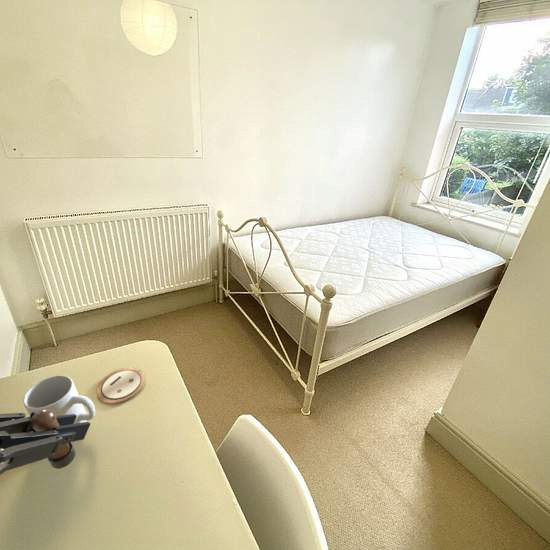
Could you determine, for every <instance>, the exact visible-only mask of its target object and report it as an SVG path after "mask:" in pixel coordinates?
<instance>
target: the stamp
mask: <svg viewBox="0 0 550 550" xmlns="http://www.w3.org/2000/svg"><path fill="white" fill-rule="evenodd" d="M56 426H60V425H59V423H58V421H57V419H56V414H55V412H54V411H53V410H51V409H42V410H39V411H38V412H36V413H35V414H34V415H33V417H32V419H31V427H32V428H33V429H34V430H36V432H39V431H50V430H52V429H53V427H56ZM76 453H77V452H76V450H75V447H74V445H73V442H70V443H65V444H60V445H59V448H58V450H57V452H56V454H55V456H52V457H49V458H47V460H48V462H49V464H50V465H51V467H52V468H53V469H56V470H59V469H63V468H65V467H67V466H68V465H70V464H72V462H73V461H74V459H75V458H76Z"/></svg>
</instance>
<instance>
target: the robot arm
mask: <svg viewBox="0 0 550 550" xmlns="http://www.w3.org/2000/svg"><path fill="white" fill-rule="evenodd" d="M35 413H36V412H32V413H31V415H29V416H27V415H26V413H25V412H8V413H0V476H1V475H2V474H4V473H5V472H7V471H10V470H14V469H17V468H21V467H23V466H26V465H29V464H32V463H36V462H38V461H42V460H46V459H48V458H49V457H52V456H55V454H56V452H57V450H58V448H59V445H60V444H65V443H74V442H77V441H83V440H85V438H86V435H87V433H88V431H89V429H90V426H91V422H89V421H86V422H83V423H76V424H74V421H75V419H76V417H77V415H75V414H70V415H61V416H56V419H57V421H58V423H59V425H60V426H56V427H53V429H52V430H50V431H39V432H36V430H34V429H33V428H32V427H31V419H32V417H33V415H34V414H35Z"/></svg>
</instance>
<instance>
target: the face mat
mask: <svg viewBox="0 0 550 550" xmlns="http://www.w3.org/2000/svg"><path fill="white" fill-rule="evenodd" d="M146 380H147V379H146V375H145V373H144V372H143V371H142V370H141V369H139V368H137V367H123V368H119V369H116V370H114V371H112V372H110V373H109V374H107V375H106V376H105V377H104V378H103V379H102V380H100V382H99V383H98V385H97V388H96V395H97V398H98V399H99V401H101V402H102V403H105V404H109V405H117V404H121V403H124V402H127V401H129V400H131V399H134V397H136V396H137V395H138V394H139V393H140V392H141V391H142V390H143V388H144V387H145V385H146Z"/></svg>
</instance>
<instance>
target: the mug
mask: <svg viewBox="0 0 550 550" xmlns="http://www.w3.org/2000/svg"><path fill="white" fill-rule="evenodd" d="M22 400H23V401H22V403H23V406H24V408H25V410H26V412H27V413H28V415H29V416H30V415H31V413H32V412H38V411H39V410H42V409H51V410H53V411H54V412H55V414H56V416H61V415H70V414H75V415H77V417H76V419H75V421H74V424H76V423H83V422H88V421H91V420H93V419H94V418H95V416H96V414H97V413H96V406H95V404H94V402H93V401H92V399H91V398H89V397H88V396H86V395H85V396H84V395H81V394H80V395H79V392H78V390H77V388H76V385H75V383H74V381H73V379H72V378H71V377H69V376H67V375H64V374H63V375H60V374H59V375H58V374H57V375H52V376H49V377H46V378H43V379H41V380H40V381H38V382H36V383H35V384H34V385H33V386H31V387H30V388H29V389H28V390H27V391H26V392H25V394H24V396H23V399H22ZM85 407H86V408H85ZM86 409H87V410H88V412H87V411H86Z"/></svg>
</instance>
